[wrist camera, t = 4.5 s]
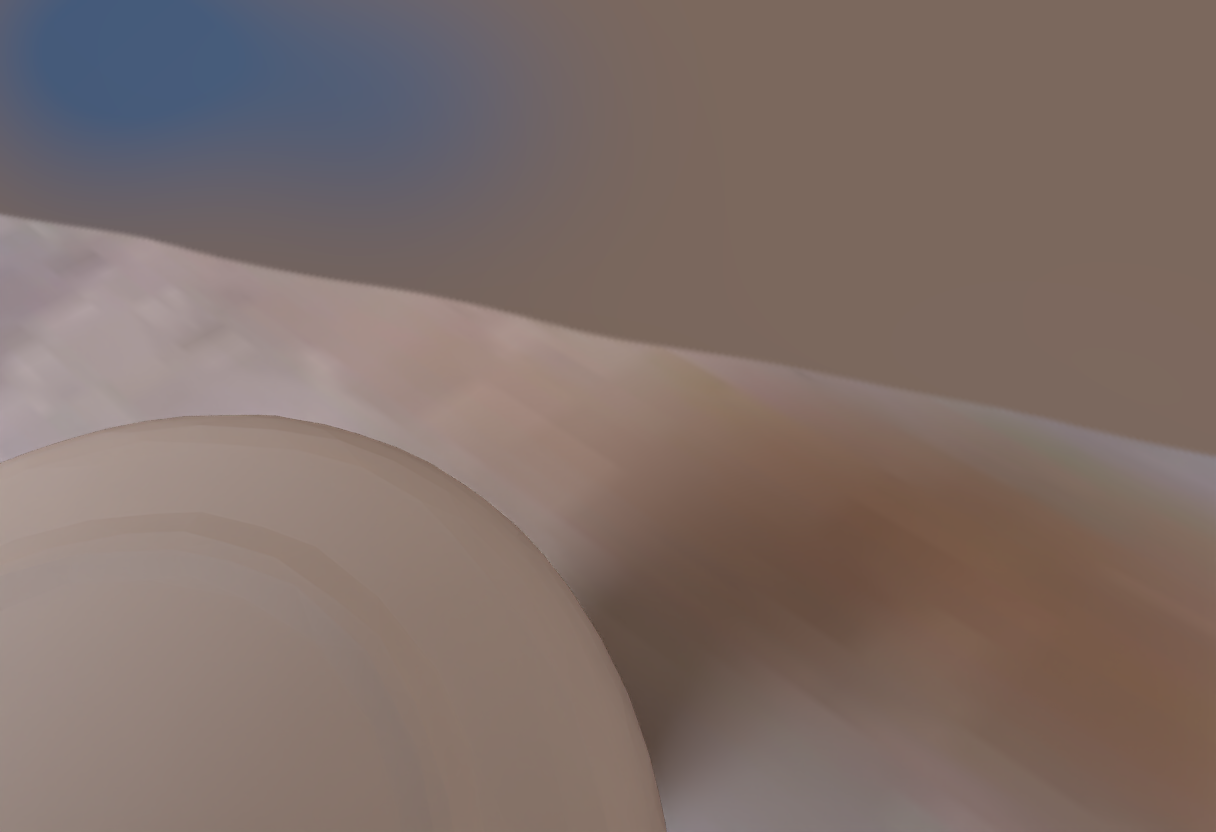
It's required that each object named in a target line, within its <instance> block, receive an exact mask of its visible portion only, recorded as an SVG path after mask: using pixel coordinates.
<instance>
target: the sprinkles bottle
mask: <svg viewBox="0 0 1216 832" xmlns="http://www.w3.org/2000/svg"><path fill="white" fill-rule="evenodd" d="M0 832H666V824H665V819H664V815H663V810H662V806H661V801H660V796H659V792H658V788H657V784H656V780H655V776H654V772H653V768H652V764H651V760H650V756H649V752H648V749H647V746H646V743H645V740H644V738H643V735H642V732H641V729H640V726H639V723H638V720H637V718H636V715H635V712H634V709H633V706H632V703H631V700H630V697H629V695H628V693H627V691H626V689H625V686H624V684H623V682H622V680H621V678H620V676H619V674H618V672H617V670H616V668H615V666H614V664H613V662H612V659H611V657H610V655H609V653H608V651H607V649H606V647H605V645H604V643H603V641H602V639H601V637H600V636H599V634H598V633H597V631H596V629H595V628H594V626H593V625H592V623H591V621H590V620H589V618H588V617H587V615H586V614H585V612H584V610H583V609H582V607H581V606H580V604H579V603H578V601H577V599H576V598H575V596H574V595H573V593H572V591H571V590H570V588H569V587H568V586H567V584H566V583H565V582H564V580H563V579H562V578H561V577H560V575H559V574H558V573H557V571H556V570H555V569H554V568H553V566H552V565H551V564H550V562H549V561H548V560H547V559H546V557H545V556H544V555H543V554H542V553H541V552H540V551H539V550H538V548H537V547H536V546H535V545H534V544H533V543H532V542H531V541H530V540H529V539H528V538H527V536H526V535H525V534H524V533H523V532H522V531H521V530H520V529H519V528H518V527H517V526H516V525H514V524H513V523H512V522H511V521H510V520H509V519H507V518H506V517H505V516H504V515H503V514H501V513H500V512H499V511H498V510H497V509H495V508H494V507H493V506H492V505H491V504H489V503H488V502H487V501H486V500H485V499H483V498H482V497H481V496H479V495H478V494H476V493H475V492H474V491H472V490H471V489H470V488H468V487H467V486H465V485H464V484H462V483H461V482H459V481H457V480H456V479H454V478H453V477H451V476H450V475H448V474H446V473H445V472H443V471H442V470H440V469H438V468H437V467H435V466H434V465H432V464H431V463H429V462H427V461H424V460H422V459H420V458H418V457H416V456H414V455H412V454H410V453H408V452H406V451H403V450H401V449H399V448H397V447H394V446H391V445H388V444H386V443H383V442H380V441H377V440H374V439H371V438H369V437H366V436H363V435H360V434H357V433H353V432H350V431H346V430H343V429H339V428H336V427H332V426H328V425H325V424H319V423H313V422H307V421H301V420H296V419H290V418H285V417H280V416H270V415H219V416H183V417H175V418H167V419H159V420H151V421H143V422H138V423H133V424H128V425H123V426H118V427H113V428H108V429H104V430H100V431H97V432H93V433H90V434H86V435H82V436H79V437H75V438H72V439H68V440H65V441H62V442H58V443H55V444H52V445H49V446H46V447H43V448H40V449H37V450H34V451H31V452H28V453H25V454H23V455H20V456H18V457H15V458H12V459H10V460H7V461H4V462H2V463H0Z"/></svg>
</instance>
